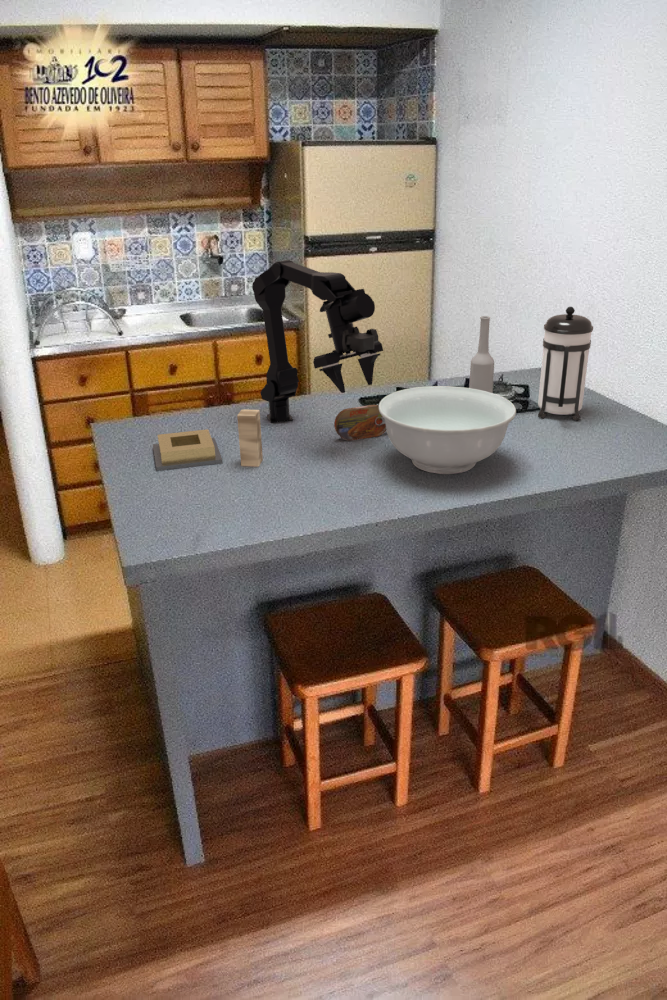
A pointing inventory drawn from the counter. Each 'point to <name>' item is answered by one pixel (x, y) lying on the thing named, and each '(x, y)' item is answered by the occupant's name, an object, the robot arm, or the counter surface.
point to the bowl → (446, 425)
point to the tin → (360, 423)
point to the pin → (250, 437)
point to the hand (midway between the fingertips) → (357, 388)
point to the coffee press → (564, 364)
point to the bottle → (482, 361)
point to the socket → (186, 450)
